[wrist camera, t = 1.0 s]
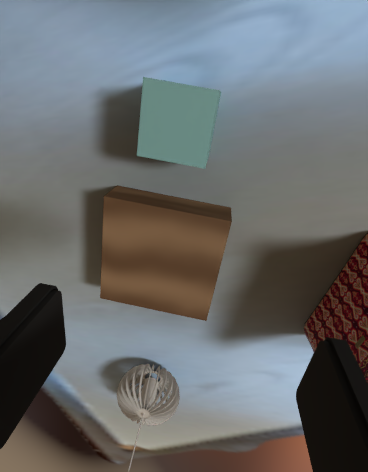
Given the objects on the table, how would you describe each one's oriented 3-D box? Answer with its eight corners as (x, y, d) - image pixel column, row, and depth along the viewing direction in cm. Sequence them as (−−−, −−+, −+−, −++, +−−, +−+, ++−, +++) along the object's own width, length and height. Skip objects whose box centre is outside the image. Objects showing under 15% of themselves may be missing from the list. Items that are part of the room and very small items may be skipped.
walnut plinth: (117, 185, 32) (103, 196, 29) (230, 207, 32) (231, 221, 28) (112, 279, 38) (100, 298, 34) (208, 299, 37) (206, 320, 34)
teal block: (159, 81, 27) (143, 77, 22) (221, 92, 27) (220, 90, 22) (152, 145, 30) (136, 155, 25) (208, 156, 30) (205, 168, 24)
